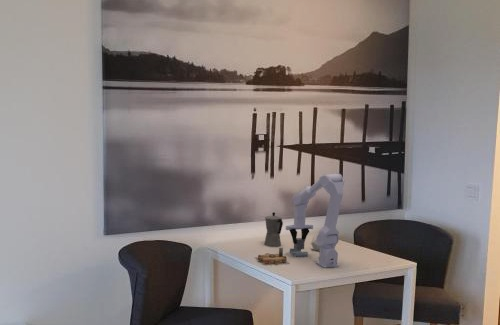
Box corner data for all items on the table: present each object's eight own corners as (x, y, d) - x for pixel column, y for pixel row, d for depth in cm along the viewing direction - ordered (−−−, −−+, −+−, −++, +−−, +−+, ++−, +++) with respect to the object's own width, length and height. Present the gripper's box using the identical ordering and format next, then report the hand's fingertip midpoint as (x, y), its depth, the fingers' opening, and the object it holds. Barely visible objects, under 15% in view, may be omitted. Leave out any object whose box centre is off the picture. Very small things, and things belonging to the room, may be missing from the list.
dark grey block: (304, 249, 290) (304, 239, 289) (296, 249, 288) (297, 239, 288) (301, 247, 293) (301, 238, 293) (293, 247, 292) (294, 238, 292)
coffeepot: (259, 243, 315) (260, 210, 313) (273, 241, 320) (274, 209, 318) (273, 249, 302) (274, 215, 300) (288, 247, 306) (289, 214, 305)
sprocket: (291, 263, 274) (291, 251, 273) (263, 264, 269) (263, 253, 269) (280, 255, 288) (280, 244, 287) (253, 257, 283) (253, 246, 282)
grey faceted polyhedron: (322, 254, 297) (332, 238, 299) (308, 245, 298) (318, 229, 301) (320, 256, 305) (329, 240, 307) (306, 247, 306) (315, 232, 308)
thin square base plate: (289, 263, 274) (289, 263, 274) (264, 265, 270) (264, 264, 270) (279, 256, 287) (279, 255, 287) (254, 257, 283) (254, 257, 283)
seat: (307, 256, 288) (307, 252, 288) (296, 257, 286) (296, 252, 286) (300, 252, 297) (300, 247, 297) (289, 252, 295) (289, 248, 295)
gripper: (309, 215, 296) (308, 240, 297) (283, 216, 291) (282, 242, 293) (315, 217, 289) (314, 244, 291) (289, 218, 285) (287, 245, 286)
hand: (298, 243), depth 291 cm, fingers closed on dark grey block, 4 cm apart
